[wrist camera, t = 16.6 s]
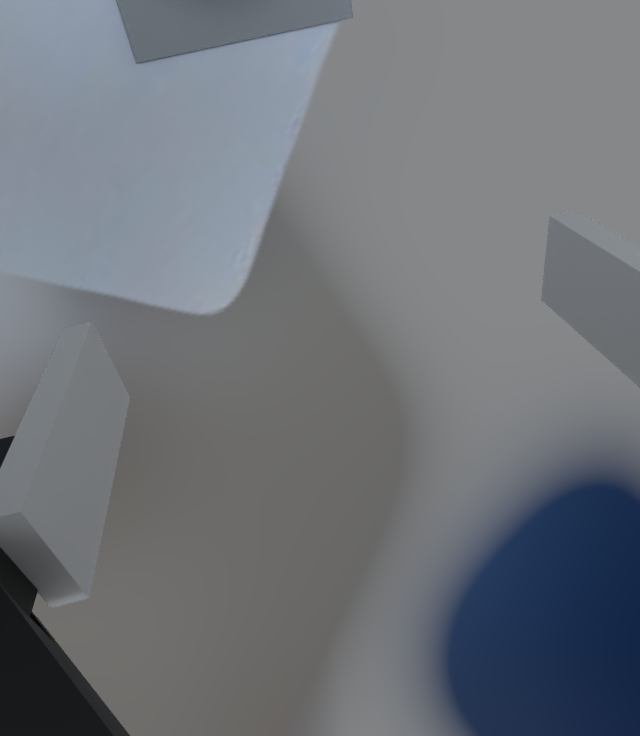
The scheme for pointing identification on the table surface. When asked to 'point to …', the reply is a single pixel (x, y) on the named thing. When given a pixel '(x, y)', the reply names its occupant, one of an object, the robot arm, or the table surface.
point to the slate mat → (217, 22)
